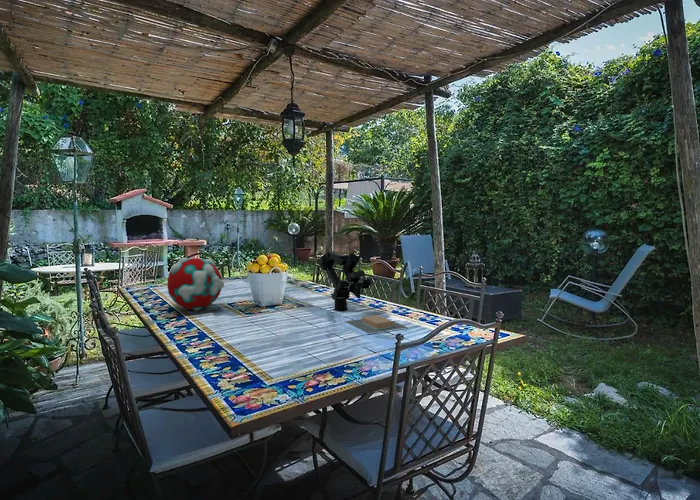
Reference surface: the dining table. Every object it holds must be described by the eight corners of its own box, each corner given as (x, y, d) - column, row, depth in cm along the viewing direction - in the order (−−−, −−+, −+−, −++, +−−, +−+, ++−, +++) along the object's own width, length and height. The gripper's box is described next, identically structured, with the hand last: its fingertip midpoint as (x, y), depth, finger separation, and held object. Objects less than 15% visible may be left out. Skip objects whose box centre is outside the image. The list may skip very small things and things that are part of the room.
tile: (362, 316, 205) (376, 323, 193) (377, 315, 210) (392, 321, 197) (362, 322, 206) (376, 329, 193) (377, 320, 210) (392, 327, 197)
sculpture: (167, 306, 246) (165, 256, 244) (220, 301, 259) (219, 254, 257) (169, 318, 218) (167, 261, 215) (228, 312, 230) (227, 259, 228)
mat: (344, 322, 209) (344, 321, 209) (381, 318, 219) (381, 316, 219) (368, 335, 188) (368, 333, 187) (408, 329, 198) (408, 327, 198)
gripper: (339, 265, 216) (348, 290, 207) (370, 264, 224) (380, 287, 215) (332, 278, 223) (341, 302, 215) (362, 276, 232) (372, 299, 223)
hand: (359, 297), depth 217 cm, fingers closed
